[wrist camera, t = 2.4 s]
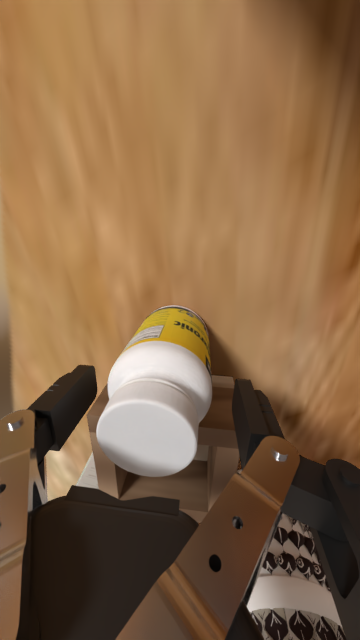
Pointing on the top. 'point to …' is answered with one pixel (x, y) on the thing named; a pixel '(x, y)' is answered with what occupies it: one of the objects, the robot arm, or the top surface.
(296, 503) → the robot arm
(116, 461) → the supplement bottle
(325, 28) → the top surface
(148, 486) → the socket block
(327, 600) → the decorative candle
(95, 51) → the top surface
